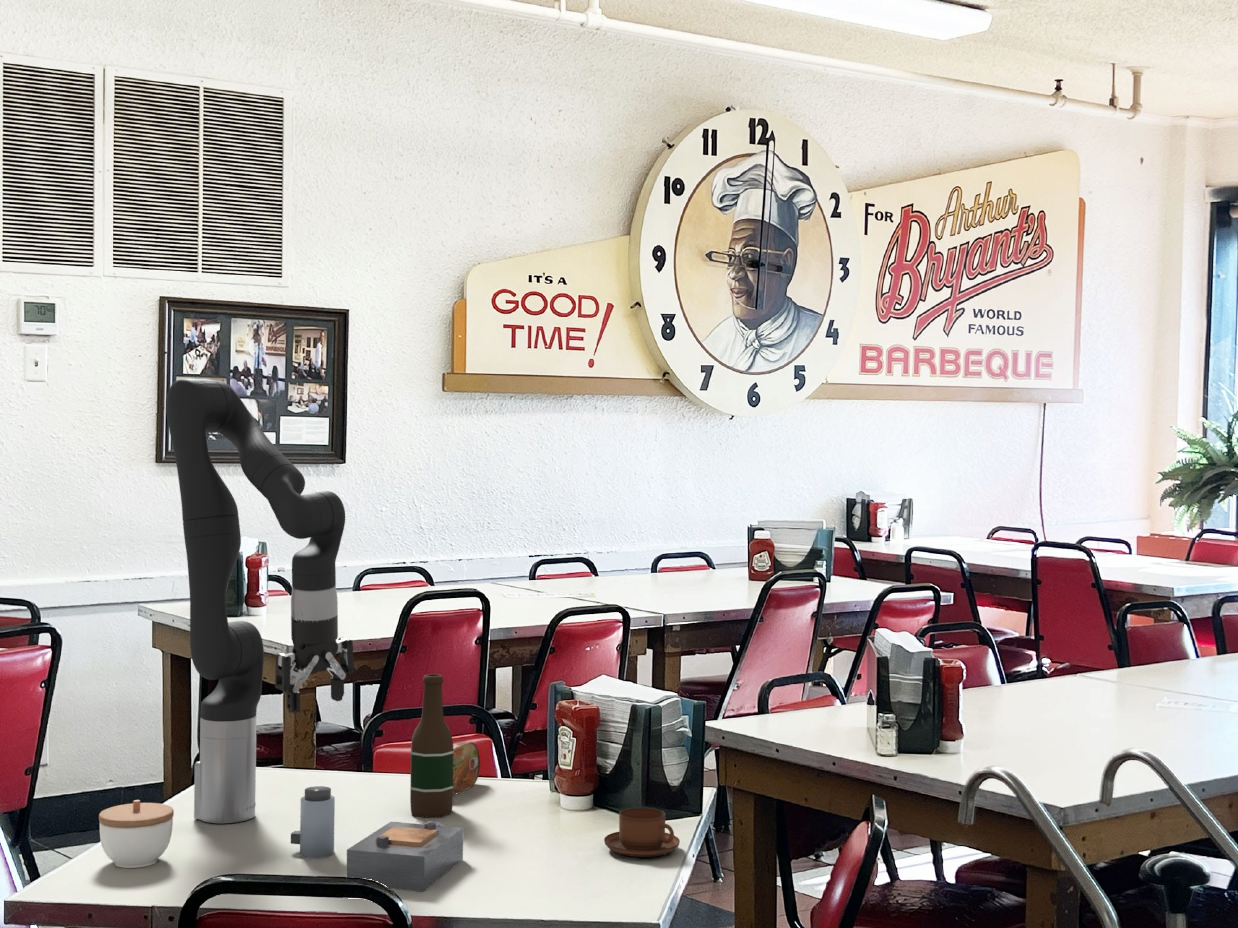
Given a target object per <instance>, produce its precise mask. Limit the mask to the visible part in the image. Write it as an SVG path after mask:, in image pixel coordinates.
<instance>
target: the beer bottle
mask: <svg viewBox="0 0 1238 928" xmlns="http://www.w3.org/2000/svg"><path fill="white" fill-rule="evenodd" d="M422 682H423V684H424V685H423V699H422V711H421V717H420V721H419V723H418V724H417V726H416V727H415V728H414V731H413V734H412V737H411V742H410V743H411V744H410V745H411V746H410V791H409V792H410V794H409V796H410V799H409V801H410V812H411V816H414V817H420V818H423V819H429V818H442V817H446V816H448V815H451V814H452V813H453V804H454V800H453V799H454V798H453V797H454V796H453V745H454V739H453V737H452V733H451V731H450V728H449V726H448V725H447V723H446V721H445V717H444V706H443V704H444V703H443V683H444V678H443V675H442V674H440V673H439V674H438V673H428V674H425V675H423V678H422Z"/></svg>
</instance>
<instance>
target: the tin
mask: <svg viewBox="0 0 1238 928" xmlns="http://www.w3.org/2000/svg"><path fill="white" fill-rule="evenodd" d="M480 756H481V755H480V751H479V748H478V746H477V745H476V743H475V742H472V741H469V742H458V743H455V744H453V795H454V796H456V795H457V794H456V793H458V794H460V793H462V792H464V791H466V790H467V788H468V789H470V788H472V787H474V786H475V784H476V783H477V781H478V778H479V775H480V771H481V770H480V769H481V757H480ZM469 787H470V788H469ZM465 789H466V790H465ZM463 790H464V791H463ZM459 792H460V793H459ZM455 794H456V795H455Z"/></svg>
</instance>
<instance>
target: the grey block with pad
mask: <svg viewBox="0 0 1238 928" xmlns="http://www.w3.org/2000/svg"><path fill="white" fill-rule="evenodd" d="M463 860H464V827H463V826H462V827H461V826H460V827H459V826H449V825H448V826H447V825H443V823H440V822H439V821H436V820H429V821H428V822H426V823H412V822H411V823H410V822H402V821H401V822H399V821H389V822H388V823H386V824H385V825H383V826H381V827H380V828H379V829H377V830H376V831H374V832H372V833H371V834H369V835H368V836H366V837H365V838H363V839H361V840H360V841H358V842H356V843H355V844H353V845H352V846H351V847H348V849H346V878H347V877H353V878H366V879H372V880H374V881H378V882H379V883H382V884H384V885H386V886H387V887H388V888H387V889H393V890H394V889H395V890H404V891H405V890H406V891H415V892H426V890H428V889H429V888H430V887H431V886H433V885H434V884H435V883H436V882H437V881H439V880H440V879H442V877H443V876H446V874H448V873H449V872H450V871H451V870H452V869H453V868H456V866H458V864H460V863H461V862H462V861H463Z"/></svg>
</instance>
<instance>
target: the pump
mask: <svg viewBox="0 0 1238 928" xmlns="http://www.w3.org/2000/svg"><path fill="white" fill-rule="evenodd" d="M331 794H332V788H331V787H330V786H329V787H328V786H321V785H320V786H310V787H307V788H304V796H302V797H300V814H299V815H300V816H299V817H300V821H299V822H300V823H299V824H300V827H299V828H300V829H299V830H295V831H292V832H291V833H290V844H291V845H299V856H301V857H303V858H306V859H307V858H308V859H323V858H327V857H328V858H329V857H330V856H332V855H334V854H335V812H336V811H335V803H336V801H335V800H336V799H335V798H336V797H335V796H334V795H331Z"/></svg>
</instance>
